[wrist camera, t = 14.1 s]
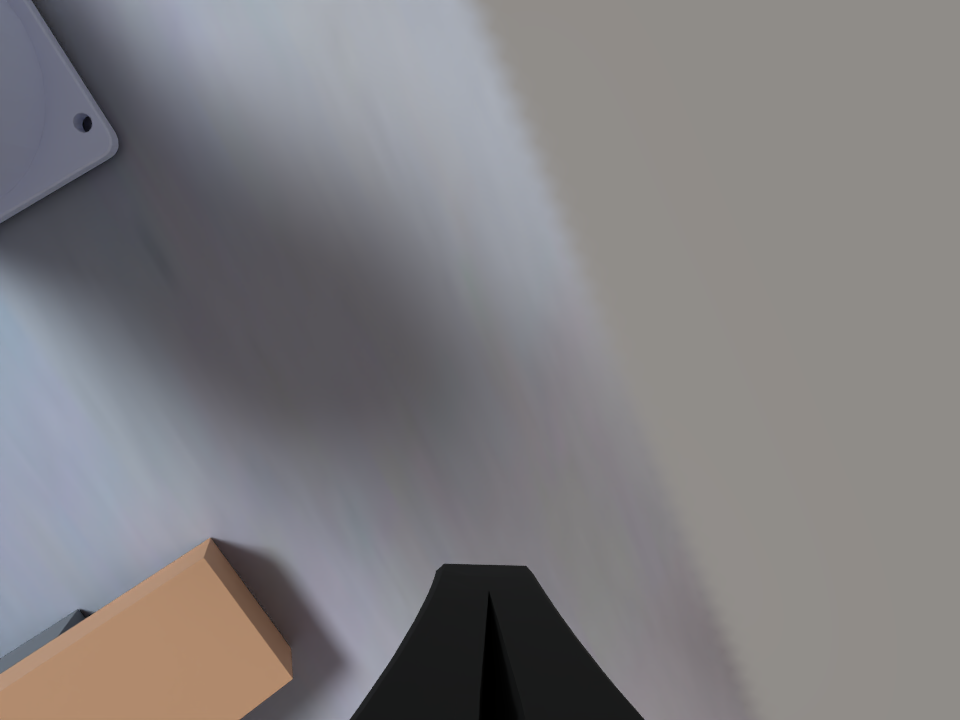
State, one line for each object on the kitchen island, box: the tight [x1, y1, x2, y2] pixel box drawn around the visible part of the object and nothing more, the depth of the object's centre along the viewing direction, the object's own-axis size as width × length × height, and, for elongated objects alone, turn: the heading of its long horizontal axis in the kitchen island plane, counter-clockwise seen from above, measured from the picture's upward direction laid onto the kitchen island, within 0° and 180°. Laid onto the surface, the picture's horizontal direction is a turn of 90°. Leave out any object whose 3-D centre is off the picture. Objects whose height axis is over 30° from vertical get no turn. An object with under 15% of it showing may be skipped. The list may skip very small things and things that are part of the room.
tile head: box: [0, 538, 293, 720], centre depth 18 cm, size 5×2×7 cm
